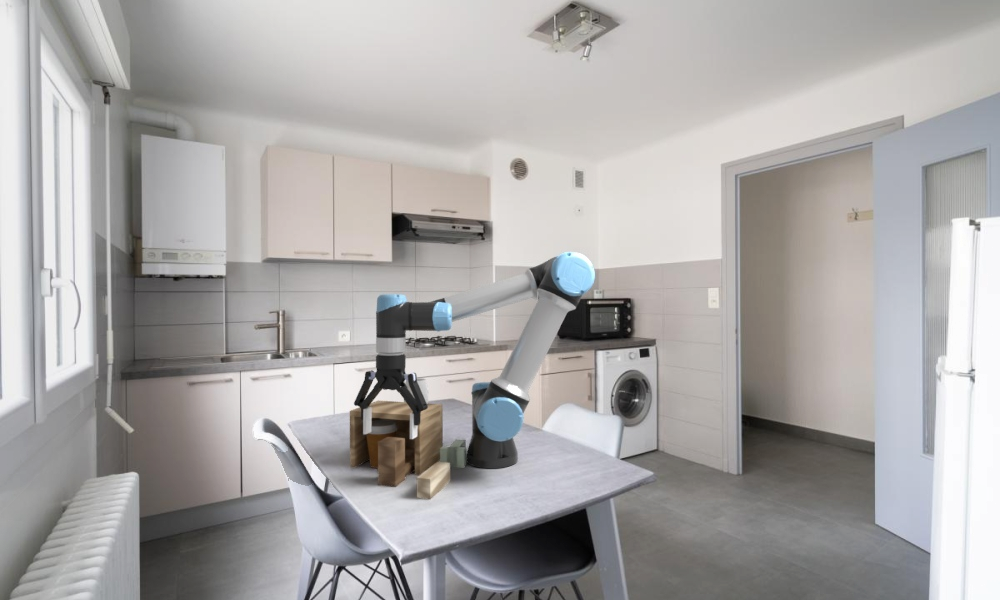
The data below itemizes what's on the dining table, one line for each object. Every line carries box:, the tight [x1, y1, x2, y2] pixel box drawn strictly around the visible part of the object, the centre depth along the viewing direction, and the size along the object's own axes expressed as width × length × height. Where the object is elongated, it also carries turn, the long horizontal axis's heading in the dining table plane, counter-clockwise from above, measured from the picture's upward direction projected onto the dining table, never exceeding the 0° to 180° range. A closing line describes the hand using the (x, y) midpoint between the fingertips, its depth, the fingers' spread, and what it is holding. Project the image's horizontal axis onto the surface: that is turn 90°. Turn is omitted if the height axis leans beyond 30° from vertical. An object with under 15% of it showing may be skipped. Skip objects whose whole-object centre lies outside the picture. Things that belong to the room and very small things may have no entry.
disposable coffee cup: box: [366, 419, 398, 469], centre depth 139 cm, size 10×10×12 cm
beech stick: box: [416, 461, 451, 500], centre depth 121 cm, size 4×12×5 cm, turn 163°
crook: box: [377, 437, 415, 488], centre depth 135 cm, size 16×22×11 cm
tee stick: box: [439, 438, 467, 469], centre depth 142 cm, size 7×10×5 cm
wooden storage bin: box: [349, 400, 444, 476], centre depth 141 cm, size 22×15×16 cm
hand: (390, 435), depth 125 cm, fingers open, 13 cm apart
